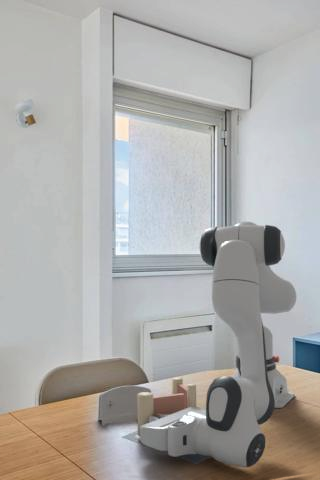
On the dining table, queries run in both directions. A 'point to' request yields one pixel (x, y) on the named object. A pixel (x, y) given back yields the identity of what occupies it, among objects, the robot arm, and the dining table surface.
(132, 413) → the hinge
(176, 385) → the fixed fence
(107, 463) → the dining table surface
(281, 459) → the dining table surface
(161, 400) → the swing panel
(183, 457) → the board
